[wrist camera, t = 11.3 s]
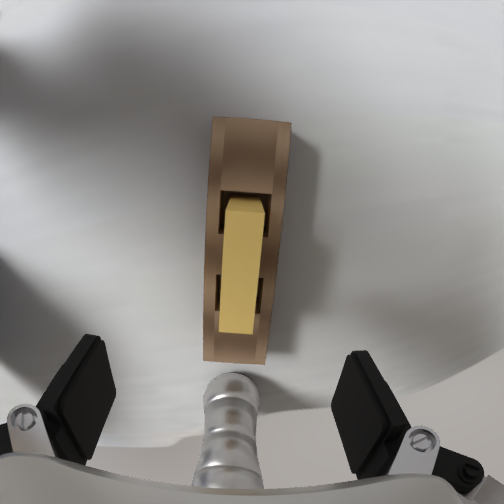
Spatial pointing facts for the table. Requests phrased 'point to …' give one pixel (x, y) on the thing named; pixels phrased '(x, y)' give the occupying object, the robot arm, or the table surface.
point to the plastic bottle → (230, 435)
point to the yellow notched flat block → (241, 263)
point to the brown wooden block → (219, 192)
